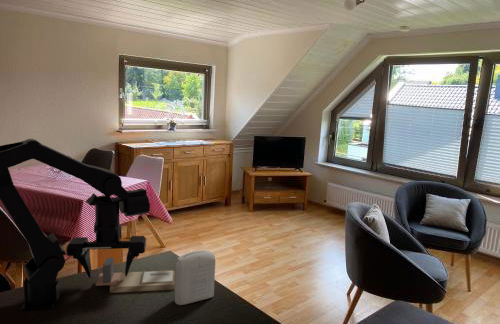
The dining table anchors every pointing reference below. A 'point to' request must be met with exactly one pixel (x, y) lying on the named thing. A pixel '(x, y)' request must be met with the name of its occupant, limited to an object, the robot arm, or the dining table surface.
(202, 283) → the photo printer
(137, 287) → the ticket board
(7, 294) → the dining table surface
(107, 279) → the stub
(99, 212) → the robot arm
